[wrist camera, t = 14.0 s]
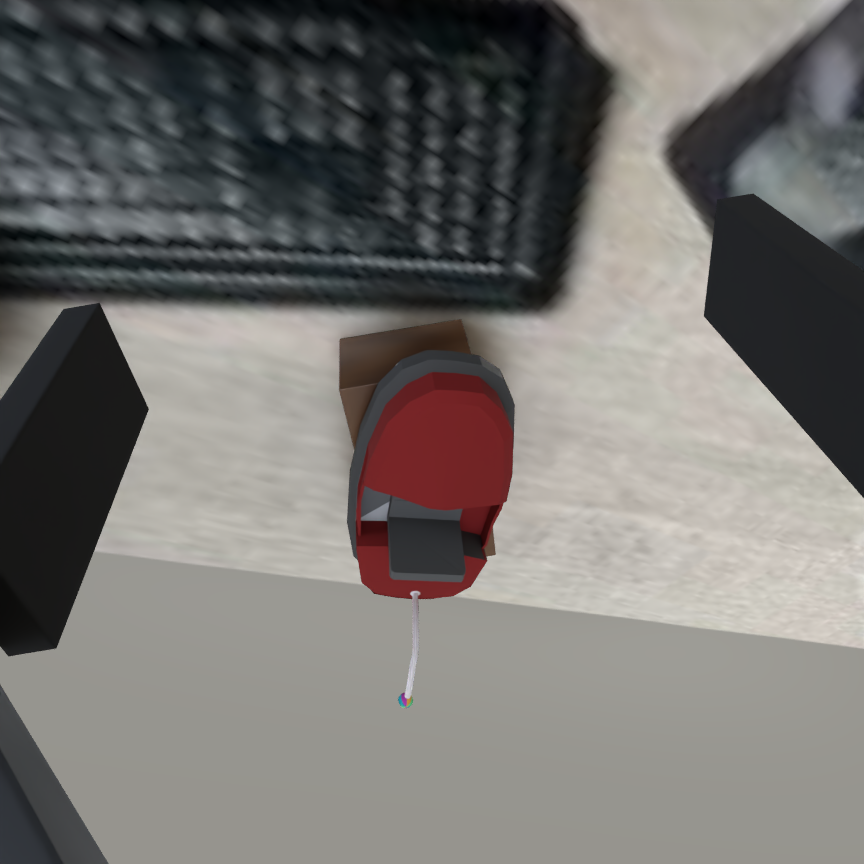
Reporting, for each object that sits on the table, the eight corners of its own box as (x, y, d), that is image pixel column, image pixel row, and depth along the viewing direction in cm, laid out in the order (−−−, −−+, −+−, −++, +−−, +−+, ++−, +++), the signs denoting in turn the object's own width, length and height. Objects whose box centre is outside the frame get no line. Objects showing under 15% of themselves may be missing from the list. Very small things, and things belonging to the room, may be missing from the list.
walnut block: (461, 318, 46) (475, 367, 41) (482, 499, 55) (495, 555, 50) (339, 338, 46) (338, 389, 41) (382, 515, 55) (385, 573, 50)
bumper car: (536, 355, 41) (583, 465, 33) (467, 587, 52) (489, 711, 44) (366, 338, 39) (372, 449, 31) (333, 582, 50) (331, 710, 42)
